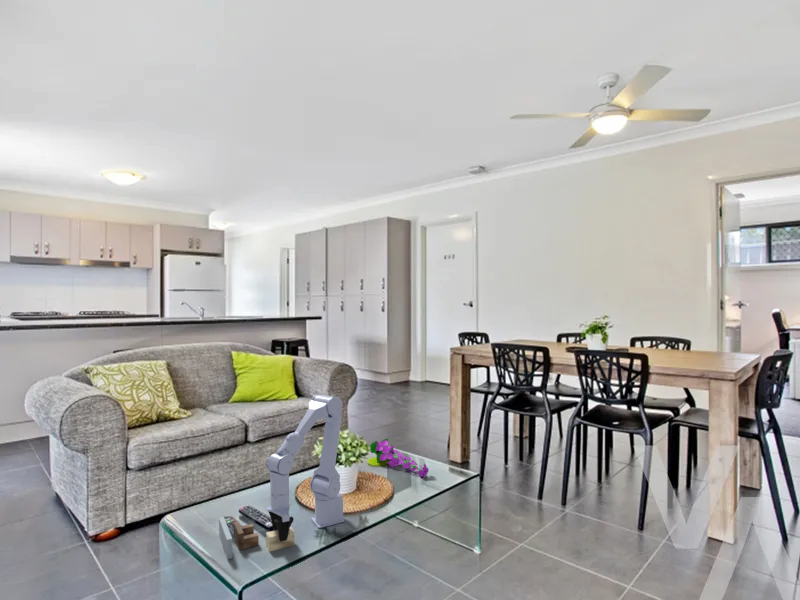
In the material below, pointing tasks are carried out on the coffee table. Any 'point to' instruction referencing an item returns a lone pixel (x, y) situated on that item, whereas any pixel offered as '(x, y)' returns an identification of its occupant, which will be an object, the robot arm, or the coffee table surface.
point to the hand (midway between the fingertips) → (280, 535)
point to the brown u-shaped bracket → (245, 536)
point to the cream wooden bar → (274, 541)
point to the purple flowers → (395, 457)
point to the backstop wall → (225, 538)
